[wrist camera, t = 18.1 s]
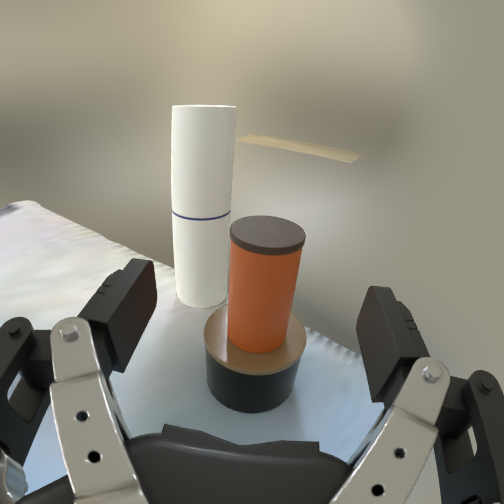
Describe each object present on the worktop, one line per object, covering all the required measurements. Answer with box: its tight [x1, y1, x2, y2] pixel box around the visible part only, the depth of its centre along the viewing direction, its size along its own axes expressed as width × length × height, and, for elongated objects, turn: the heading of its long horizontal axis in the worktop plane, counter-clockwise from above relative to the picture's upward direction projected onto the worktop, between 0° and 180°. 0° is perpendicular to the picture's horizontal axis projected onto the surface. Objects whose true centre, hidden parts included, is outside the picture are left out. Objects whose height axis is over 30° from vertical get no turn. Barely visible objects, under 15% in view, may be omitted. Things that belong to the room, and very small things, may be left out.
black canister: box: [204, 305, 306, 413], centre depth 28 cm, size 9×9×7 cm
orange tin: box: [227, 216, 306, 353], centre depth 24 cm, size 5×5×10 cm
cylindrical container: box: [171, 105, 237, 309], centre depth 36 cm, size 7×7×25 cm
